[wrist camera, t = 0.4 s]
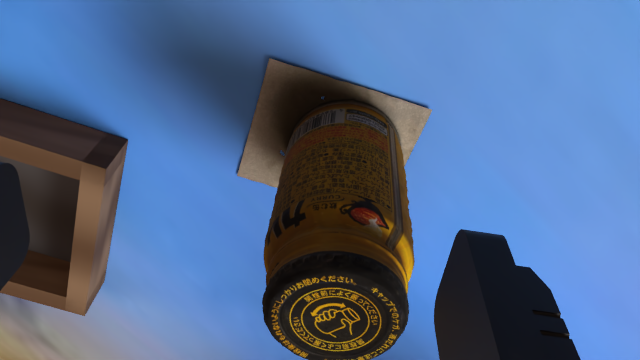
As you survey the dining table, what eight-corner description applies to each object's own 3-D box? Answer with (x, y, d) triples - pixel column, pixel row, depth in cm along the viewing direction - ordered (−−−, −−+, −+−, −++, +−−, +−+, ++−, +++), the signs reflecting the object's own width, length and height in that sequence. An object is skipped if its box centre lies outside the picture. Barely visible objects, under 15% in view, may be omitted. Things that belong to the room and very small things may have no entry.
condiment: (379, 216, 31) (387, 401, 21) (237, 173, 30) (175, 346, 20) (432, 107, 27) (471, 272, 17) (270, 55, 26) (213, 197, 16)
